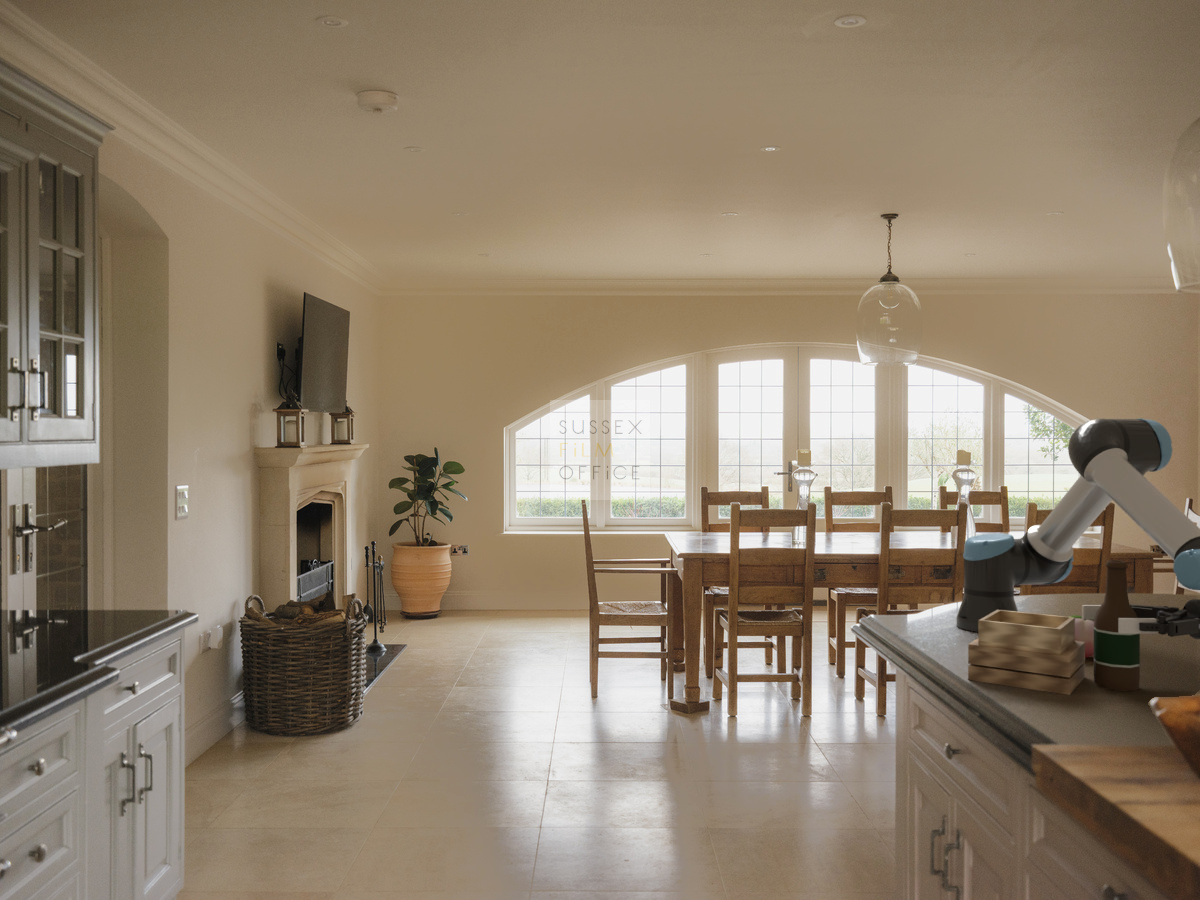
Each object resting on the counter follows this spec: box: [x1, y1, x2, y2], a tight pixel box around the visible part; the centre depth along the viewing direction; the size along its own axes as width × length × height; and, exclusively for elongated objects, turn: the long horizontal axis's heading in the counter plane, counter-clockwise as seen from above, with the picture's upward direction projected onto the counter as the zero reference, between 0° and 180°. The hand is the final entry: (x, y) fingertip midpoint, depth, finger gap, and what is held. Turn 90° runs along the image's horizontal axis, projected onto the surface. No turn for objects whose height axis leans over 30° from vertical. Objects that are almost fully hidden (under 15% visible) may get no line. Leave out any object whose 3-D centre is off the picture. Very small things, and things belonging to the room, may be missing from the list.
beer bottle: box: [1093, 559, 1141, 692], centre depth 175 cm, size 8×8×24 cm
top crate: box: [977, 610, 1075, 655], centre depth 180 cm, size 15×15×5 cm
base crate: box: [967, 637, 1086, 696], centre depth 180 cm, size 18×16×7 cm
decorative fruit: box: [1067, 614, 1094, 659], centre depth 198 cm, size 9×8×10 cm
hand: (1100, 618), depth 175 cm, fingers open, 13 cm apart
